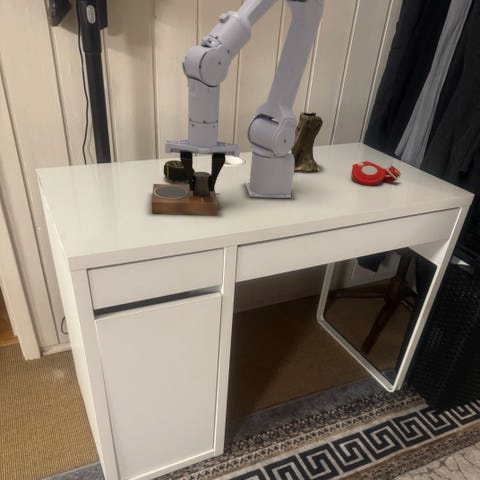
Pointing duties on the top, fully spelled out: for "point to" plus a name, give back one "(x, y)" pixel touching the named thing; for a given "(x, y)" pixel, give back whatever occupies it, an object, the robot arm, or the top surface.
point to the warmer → (185, 203)
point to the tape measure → (175, 171)
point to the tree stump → (306, 141)
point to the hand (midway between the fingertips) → (201, 189)
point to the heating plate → (170, 192)
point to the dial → (201, 184)
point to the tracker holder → (373, 173)
